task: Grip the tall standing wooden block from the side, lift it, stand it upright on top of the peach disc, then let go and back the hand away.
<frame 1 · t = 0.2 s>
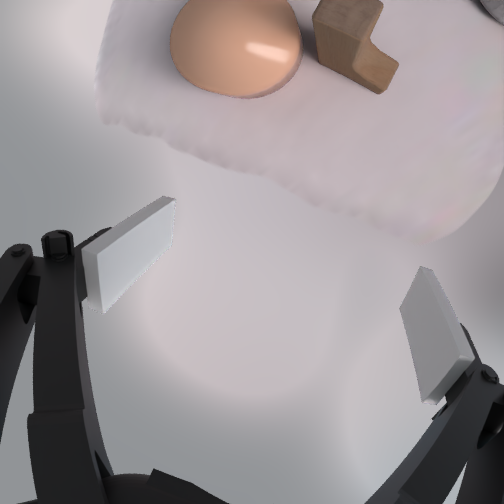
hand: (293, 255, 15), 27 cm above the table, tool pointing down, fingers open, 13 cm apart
peach disc: (247, 48, 35), on the table
wooden block: (355, 65, 33), on the table
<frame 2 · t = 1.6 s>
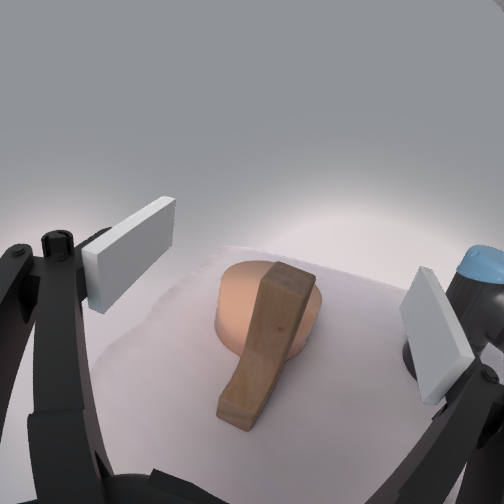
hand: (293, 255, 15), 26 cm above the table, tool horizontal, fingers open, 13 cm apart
peach disc: (261, 327, 49), on the table
wooden block: (247, 401, 36), on the table
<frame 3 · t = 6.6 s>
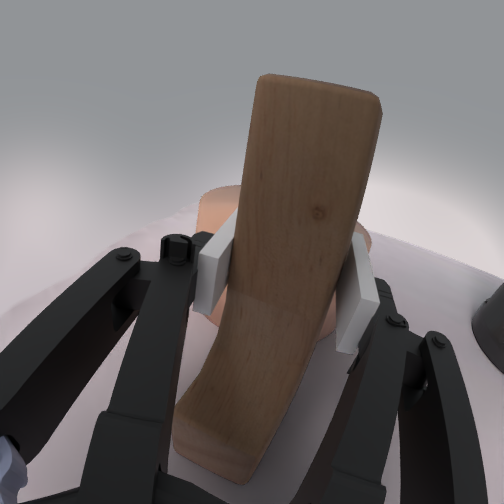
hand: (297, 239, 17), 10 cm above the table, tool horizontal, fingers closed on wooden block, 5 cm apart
peach disc: (268, 290, 30), on the table
wooden block: (242, 418, 17), on the table, touching gripper
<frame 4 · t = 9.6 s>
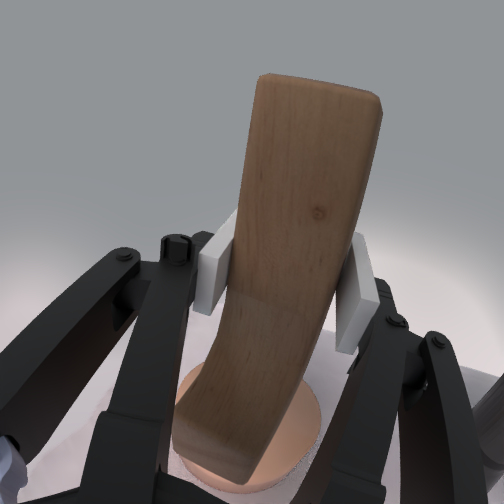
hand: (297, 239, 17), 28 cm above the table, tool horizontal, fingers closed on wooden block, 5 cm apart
peach disc: (238, 439, 32), on the table
wooden block: (242, 419, 17), point 18 cm above the table, touching gripper
when the fingers open (19 cm above the table, at t = 12.9 s): wooden block drops 2 cm, resting on peach disc.
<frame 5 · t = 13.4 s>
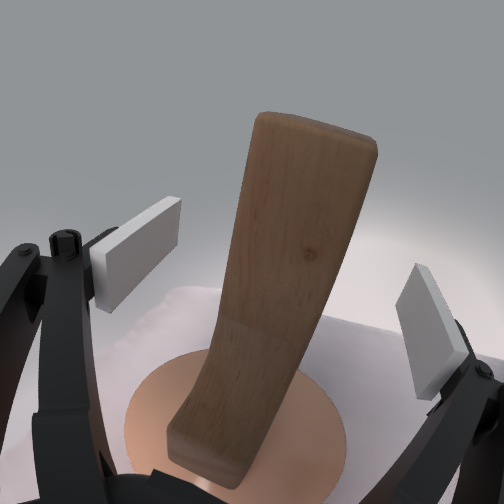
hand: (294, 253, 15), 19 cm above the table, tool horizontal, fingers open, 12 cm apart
peach disc: (225, 467, 22), on the table
wooden block: (230, 427, 18), point 8 cm above the table, touching peach disc
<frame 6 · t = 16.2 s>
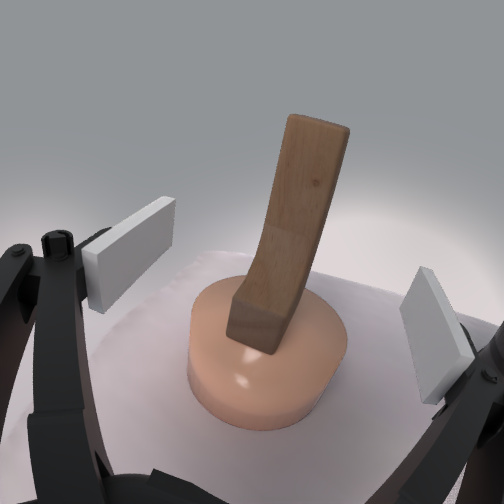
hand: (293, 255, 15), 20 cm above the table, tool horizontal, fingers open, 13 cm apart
peach disc: (255, 372, 32), on the table
wooden block: (265, 319, 29), point 8 cm above the table, touching peach disc
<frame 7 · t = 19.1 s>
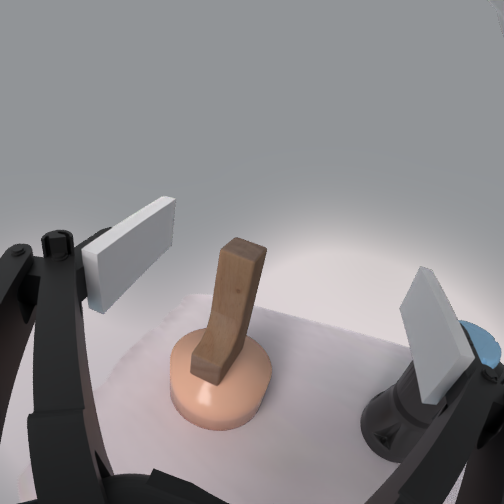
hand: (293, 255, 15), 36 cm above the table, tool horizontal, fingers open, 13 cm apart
peach disc: (215, 392, 47), on the table
wooden block: (217, 361, 43), point 8 cm above the table, touching peach disc
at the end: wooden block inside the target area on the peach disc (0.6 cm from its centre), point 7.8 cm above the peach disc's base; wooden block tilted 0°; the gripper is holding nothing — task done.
